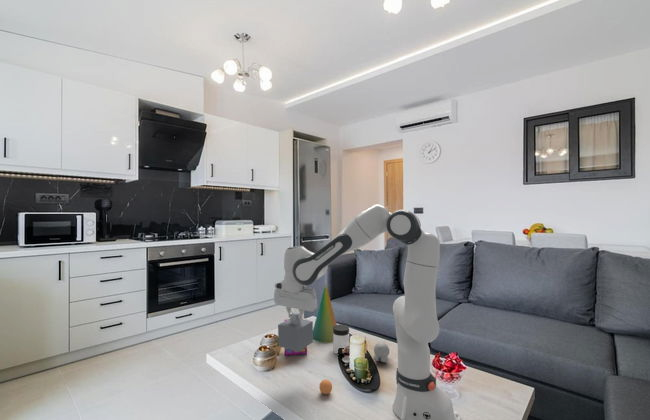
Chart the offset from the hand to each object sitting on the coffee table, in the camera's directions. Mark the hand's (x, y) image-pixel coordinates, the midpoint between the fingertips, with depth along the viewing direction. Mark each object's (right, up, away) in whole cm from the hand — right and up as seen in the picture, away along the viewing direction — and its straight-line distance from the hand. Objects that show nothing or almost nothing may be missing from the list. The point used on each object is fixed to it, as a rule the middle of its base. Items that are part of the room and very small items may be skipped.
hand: (295, 318), depth 127 cm
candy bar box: (-2, -27, +25) cm, 37 cm away
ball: (+13, -24, -8) cm, 28 cm away
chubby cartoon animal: (+40, -27, +19) cm, 51 cm away
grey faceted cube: (0, -11, 0) cm, 11 cm away
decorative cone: (+13, -27, +45) cm, 54 cm away
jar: (+20, -27, +27) cm, 43 cm away
